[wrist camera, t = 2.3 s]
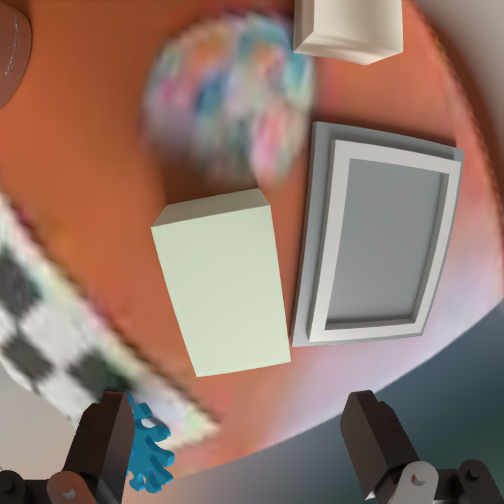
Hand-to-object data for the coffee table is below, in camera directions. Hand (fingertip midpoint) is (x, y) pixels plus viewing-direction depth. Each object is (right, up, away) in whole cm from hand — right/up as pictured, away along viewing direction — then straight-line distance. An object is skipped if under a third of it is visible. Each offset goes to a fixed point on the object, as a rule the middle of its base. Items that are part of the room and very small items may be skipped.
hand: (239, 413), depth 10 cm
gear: (-11, -10, +17) cm, 22 cm away
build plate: (+10, +6, +12) cm, 17 cm away
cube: (+6, +20, +6) cm, 22 cm away
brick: (-1, +5, +12) cm, 13 cm away
